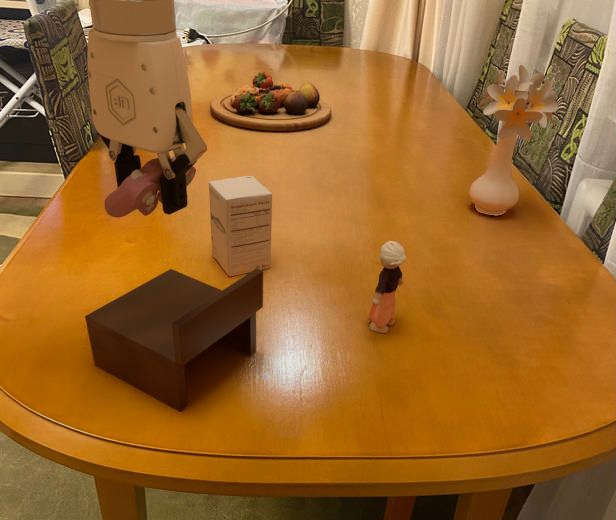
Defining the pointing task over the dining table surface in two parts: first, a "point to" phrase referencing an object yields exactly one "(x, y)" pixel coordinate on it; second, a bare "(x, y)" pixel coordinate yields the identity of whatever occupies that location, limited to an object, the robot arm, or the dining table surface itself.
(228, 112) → the wooden plate
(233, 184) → the white packaging box
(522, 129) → the flower vase
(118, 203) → the pink toy car
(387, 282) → the grandmother figurine
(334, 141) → the dining table surface
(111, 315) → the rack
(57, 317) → the dining table surface
